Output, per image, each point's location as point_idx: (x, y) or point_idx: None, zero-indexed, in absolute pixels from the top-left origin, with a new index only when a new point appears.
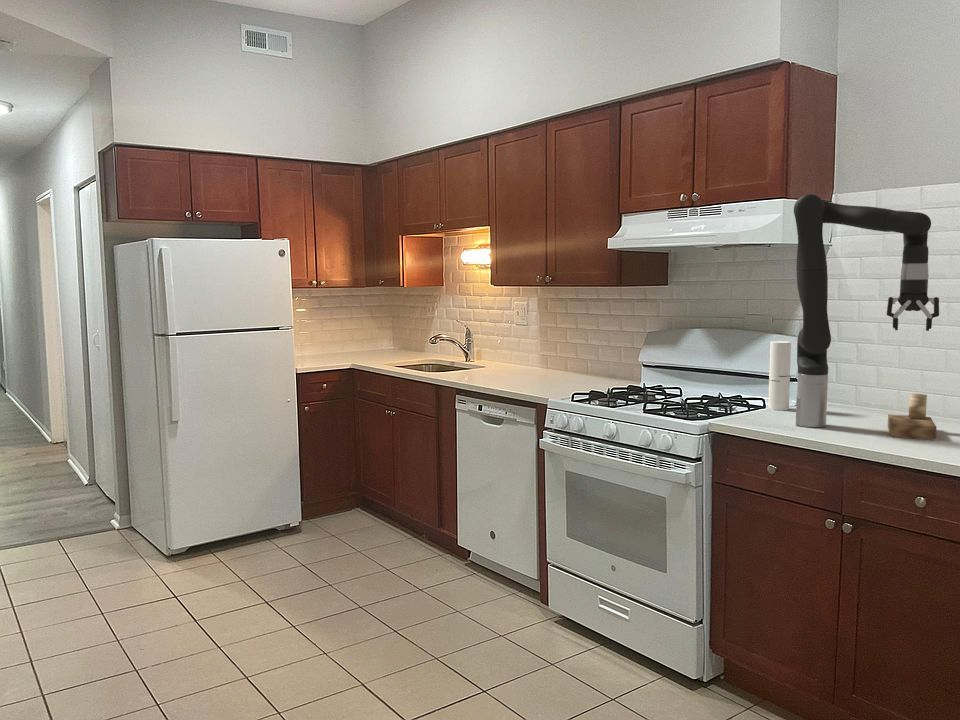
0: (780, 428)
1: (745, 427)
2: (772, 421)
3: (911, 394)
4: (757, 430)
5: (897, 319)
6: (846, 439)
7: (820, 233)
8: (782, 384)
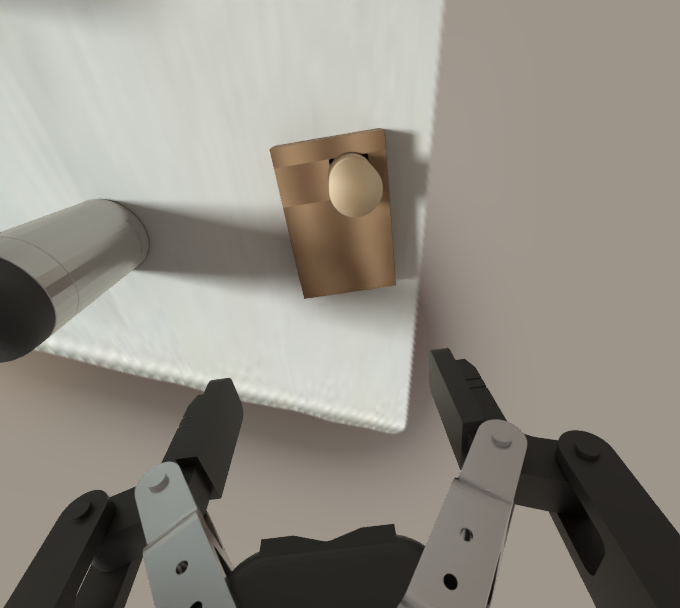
0: None
1: None
2: None
3: (335, 195)
4: (65, 348)
5: (216, 490)
6: (239, 348)
7: None
8: None
